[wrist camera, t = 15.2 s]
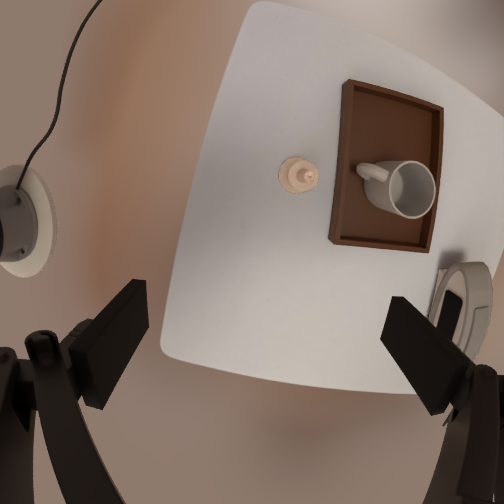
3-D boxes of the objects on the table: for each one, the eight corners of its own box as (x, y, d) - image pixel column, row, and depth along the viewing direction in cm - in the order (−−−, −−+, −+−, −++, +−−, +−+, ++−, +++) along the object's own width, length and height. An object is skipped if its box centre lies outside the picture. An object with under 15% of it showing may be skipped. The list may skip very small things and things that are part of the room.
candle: (275, 189, 41) (283, 195, 31) (282, 153, 40) (292, 148, 30) (310, 196, 41) (329, 205, 31) (317, 161, 40) (339, 159, 30)
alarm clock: (438, 251, 44) (483, 276, 31) (462, 251, 44) (506, 274, 31) (412, 362, 50) (440, 401, 38) (435, 357, 50) (464, 393, 38)
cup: (393, 216, 41) (423, 227, 33) (338, 188, 40) (360, 194, 32) (410, 174, 39) (442, 177, 31) (356, 144, 38) (382, 138, 30)
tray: (342, 84, 37) (348, 78, 33) (432, 110, 37) (443, 107, 34) (327, 238, 43) (333, 244, 40) (418, 248, 43) (428, 253, 40)
